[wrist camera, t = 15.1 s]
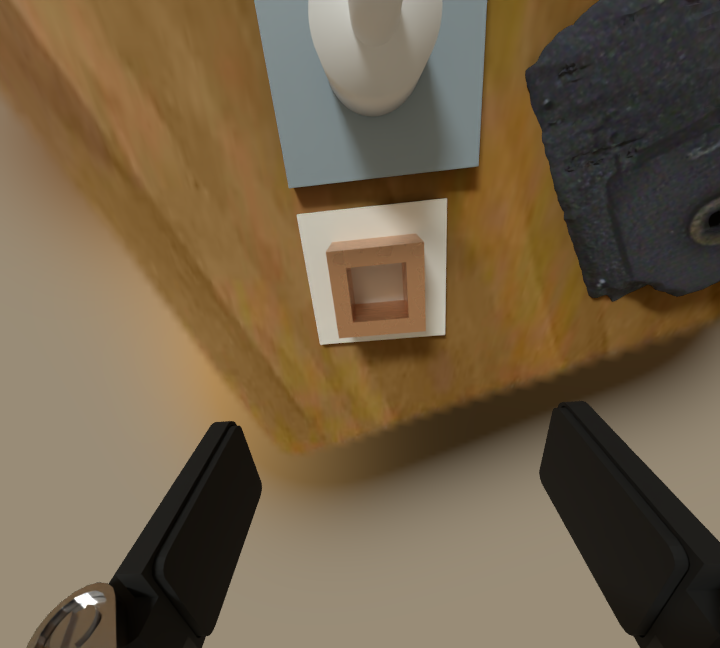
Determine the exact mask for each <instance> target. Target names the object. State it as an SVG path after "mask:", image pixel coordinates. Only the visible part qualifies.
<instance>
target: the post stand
mask: <svg viewBox="0 0 720 648" xmlns="http://www.w3.org/2000/svg"><path fill="white" fill-rule="evenodd" d="M254 2H255V7H256V13H257V18H258V24H259V29H260V34H261V40H262V45H263V51H264V56H265V61H266V67H267V72H268V78H269V83H270V88H271V94H272V99H273V105H274V110H275V115H276V121H277V126H278V132H279V137H280V142H281V148H282V153H283V159H284V164H285V169H286V175H287V180H288V186H289V188H297V187H305V186H314V185H322V184H331V183H340V182H348V181H357V180H365V179H374V178H383V177H391V176H400V175H408V174H417V173H426V172H434V171H443V170H451V169H460V168H469V167H476V166H478V165H479V145H480V126H481V107H482V88H483V68H484V49H485V30H486V10H487V0H254Z"/></svg>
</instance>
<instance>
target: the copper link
mask: <svg viewBox="0 0 720 648" xmlns="http://www.w3.org/2000/svg"><path fill="white" fill-rule="evenodd" d="M326 257H327V264H328V270H329V277H330V283H331V290H332V296H333V303H334V309H335V316H336V322H337V329H338V335H339V338H350V337H362V336H374V335H386V334H399V333H411V332H423V331H426V314H425V261H424V241H423V240H422V239H421V238H420V237H419V236H418V235H417V234H406V235H397V236H387V237H378V238H368V239H359V240H349V241H340V242H332V243H331V245H330V246H329V248H328V249H327V251H326ZM394 263H402V278H403V298H404V300H397V301H386V302H375V303H364V304H355V299H354V291H353V283H352V274H351V268H353V267H363V266H373V265H383V264H394Z"/></svg>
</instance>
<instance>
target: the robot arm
mask: <svg viewBox="0 0 720 648" xmlns="http://www.w3.org/2000/svg"><path fill="white" fill-rule="evenodd" d="M539 474H540V479H541V482H542V484H543V486H544V488H545V490H546V492H547V494H548V495H549V497H550V499H551V501H552V503H553V504H554V506H555V508H556V510H557V512H558V513H559V515H560V517H561V519H562V521H563V522H564V524H565V526H566V528H567V530H568V531H569V533H570V535H571V537H572V539H573V540H574V542H575V544H576V546H577V548H578V549H579V551H580V553H581V555H582V557H583V559H584V560H585V562H586V564H587V566H588V567H589V569H590V571H591V573H592V575H593V577H594V578H595V580H596V582H597V584H598V586H599V587H600V589H601V591H602V593H603V595H604V596H605V598H606V600H607V602H608V604H609V605H610V607H611V609H612V611H613V613H614V614H615V616H616V618H617V620H618V622H619V623H620V625H621V626H622V628H623V629H624V630H625V632H626V633H628V634H629V635H632V636H634V637H635V639H636V641H637V643H638V645H639V646H640V648H720V542H719V541H718V540H717V539H716V538H715V537H714V536H713V535H712V534H711V533H710V531H709V530H708V529H707V528H705V526H704V525H703V524H702V523H701V522H700V521H699V520H698V519H697V518H696V517H695V516H694V515H693V514H692V513H691V512H690V511H689V509H688V508H687V507H686V506H685V505H684V504H683V503H682V502H681V501H680V500H679V499H678V498H677V497H676V496H675V495H674V494H673V493H672V492H671V491H670V489H668V487H667V486H666V485H665V484H664V483H663V482H662V481H661V480H660V479H659V478H658V477H657V476H656V475H655V474H654V473H653V472H652V470H651V469H649V467H648V466H647V465H646V464H645V463H644V462H643V461H642V460H641V459H640V458H639V457H638V456H637V455H636V454H635V453H634V452H633V451H632V450H631V449H630V448H629V447H628V445H627V444H626V443H625V442H624V441H623V440H622V439H621V438H620V437H619V436H618V435H617V434H616V433H615V432H614V431H613V430H612V429H611V428H610V427H609V426H608V425H607V423H606V422H605V421H604V420H603V419H602V418H601V417H600V416H599V415H598V414H597V413H596V412H595V411H594V410H593V409H592V408H591V407H590V406H589V405H588V404H587V403H586V402H584V401H578V402H562V403H560V404H559V405H558V408H554V409H553V411H552V416H551V421H550V425H549V430H548V434H547V439H546V444H545V448H544V453H543V457H542V462H541V466H540V472H539ZM261 491H262V483H261V480H260V477H259V475H258V472H257V469H256V466H255V464H254V461H253V458H252V455H251V453H250V450H249V447H248V444H247V442H246V439H245V437H244V434H243V431H242V428H241V427H240V426H237V425H236V423H235V422H233V421H228V422H215V423H213V424H212V425H211V426H210V428H209V429H208V431H207V432H206V434H205V435H204V437H203V439H202V440H201V442H200V443H199V445H198V446H197V448H196V449H195V451H194V452H193V454H192V456H191V457H190V459H189V460H188V462H187V463H186V465H185V467H184V468H183V469H182V471H181V473H180V474H179V476H178V477H177V479H176V480H175V482H174V483H173V485H172V486H171V488H170V490H169V491H168V493H167V494H166V496H165V497H164V499H163V500H162V502H161V503H160V505H159V507H158V508H157V510H156V511H155V513H154V514H153V516H152V517H151V519H150V520H149V522H148V524H147V525H146V527H145V528H144V530H143V531H142V533H141V534H140V536H139V538H138V539H137V541H136V542H135V544H134V545H133V547H132V548H131V550H130V551H129V553H128V555H127V556H126V558H125V559H124V561H123V562H122V564H121V565H120V567H119V569H118V570H117V572H116V573H115V575H114V576H113V578H112V579H111V581H110V583H109V584H108V583H101V582H97V583H94V584H90V585H87V586H85V587H83V588H81V589H79V590H77V591H75V592H74V593H72V594H71V595H70V596H68V597H67V598H66V599H64V600H63V601H61V602H60V603H59V604H58V605H57V606H56V607H55V608H54V609H53V610H52V611H51V612H50V613H49V614H48V615H47V617H46V618H45V619H44V620H43V621H42V623H41V624H40V625H39V627H38V628H37V629H36V631H35V632H34V634H33V636H32V637H31V639H30V641H29V643H28V645H27V648H202V645H203V643H204V640H205V637H206V636H209V635H210V634H211V633H212V631H213V629H214V627H215V625H216V622H217V619H218V616H219V614H220V611H221V608H222V605H223V602H224V599H225V596H226V593H227V591H228V588H229V585H230V582H231V579H232V576H233V573H234V570H235V568H236V565H237V562H238V559H239V556H240V553H241V550H242V547H243V545H244V541H245V539H246V536H247V533H248V530H249V527H250V524H251V521H252V519H253V516H254V513H255V510H256V507H257V504H258V501H259V499H260V495H261Z"/></svg>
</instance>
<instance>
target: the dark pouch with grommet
mask: <svg viewBox="0 0 720 648" xmlns="http://www.w3.org/2000/svg"><path fill="white" fill-rule="evenodd" d="M525 76H526V82H527V87H528V89H529V91H530V100H531V105H532V108H533V111H534V113H535V115H536V117H537V119H538V122H539V124H540V126H541V129H542V142H543V144H544V146H545V154H546V157H547V159H548V161H549V164H550V171H551V175H552V179H553V183H554V189H555V191H556V193H557V196H558V201H559V204H560V206H561V208H562V210H563V211H564V220H565V221H566V223H567V227H568V232H569V235H570V237H571V240H572V242H573V245H574V250H575V252H576V255H577V257H578V260H579V265H580V268H581V270H582V275H583V280H584V283H585V284H586V287H587V291H588V294H589V296H591V297H593V298H598V297H600V296H603V295H608V296H609V298H610V299H611V301H616V300H618V299H619V298H621V297H623V296H624V295H626V294H628V293H630V292H633V291H635V290H637V289H639V288H641V287H644V286H646V285H651V286H653V288H654V289H655V290H658V291H663V292H666V293H668V294H671V295H674V296H676V297H678V296H683V295H685V294H688V293H692V292H696V291H699V290H702V289H704V288H706V287H708V286H710V285H713V284H715V283H717V282H719V281H720V0H599V1H598V2H597V3H596V4H594V5H593V6H591V7H590V8H589V9H588V10H587V11H586V12H585V13H583V14H582V15H581V16H580V18H579V19H578V20H577V21H576V22H575V24H574V25H571V26H568V27H566V28H565V29H563V30H562V31H561V32H559V33H558V34H557V35H556V36H555V38H554V39H553V40H552V41H551V42H550V43H549V44H548V45H547V46H546V47H545V48H544V50H543V51H542V53H541V55H540V56H539V59H538V61H537V62H536V63H535V64H534V65H532V66H531V67H529V68H528V69H527V70H526V74H525Z"/></svg>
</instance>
